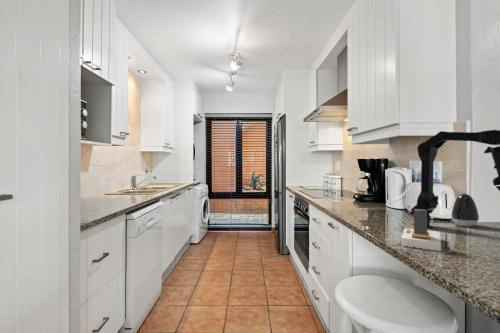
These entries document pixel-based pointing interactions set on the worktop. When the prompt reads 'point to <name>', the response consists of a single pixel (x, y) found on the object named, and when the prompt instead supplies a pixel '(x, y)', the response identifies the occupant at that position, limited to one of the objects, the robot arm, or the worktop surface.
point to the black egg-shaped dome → (465, 211)
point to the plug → (420, 224)
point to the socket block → (421, 240)
